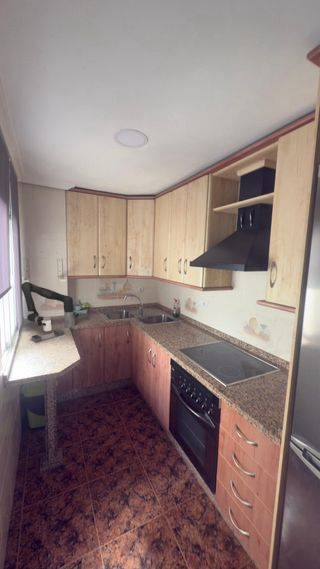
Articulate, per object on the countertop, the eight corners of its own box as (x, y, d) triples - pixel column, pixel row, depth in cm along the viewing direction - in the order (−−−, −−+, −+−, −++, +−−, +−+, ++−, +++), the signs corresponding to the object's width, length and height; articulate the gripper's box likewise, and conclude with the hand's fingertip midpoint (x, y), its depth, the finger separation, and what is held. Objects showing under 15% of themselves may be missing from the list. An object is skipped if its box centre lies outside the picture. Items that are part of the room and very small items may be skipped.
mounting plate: (58, 332, 238) (58, 328, 238) (65, 335, 229) (65, 331, 229) (29, 340, 217) (29, 336, 216) (36, 344, 208) (35, 340, 207)
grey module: (48, 328, 225) (48, 316, 223) (51, 330, 222) (50, 317, 220) (43, 330, 221) (43, 317, 220) (46, 331, 218) (45, 319, 216)
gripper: (32, 318, 224) (40, 322, 213) (47, 315, 235) (55, 318, 224) (33, 325, 225) (40, 330, 214) (48, 322, 236) (56, 326, 225)
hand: (48, 324), depth 219 cm, fingers closed on grey module, 5 cm apart
